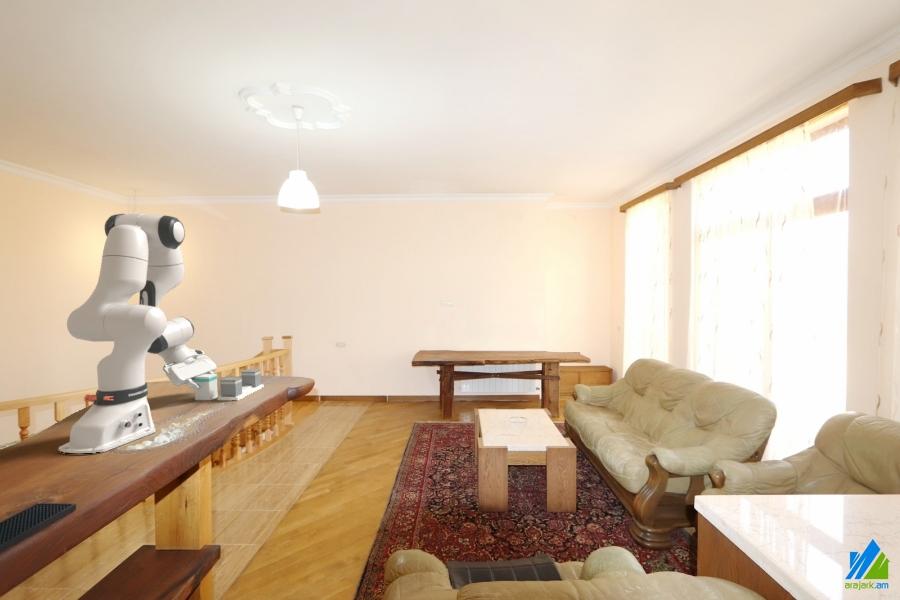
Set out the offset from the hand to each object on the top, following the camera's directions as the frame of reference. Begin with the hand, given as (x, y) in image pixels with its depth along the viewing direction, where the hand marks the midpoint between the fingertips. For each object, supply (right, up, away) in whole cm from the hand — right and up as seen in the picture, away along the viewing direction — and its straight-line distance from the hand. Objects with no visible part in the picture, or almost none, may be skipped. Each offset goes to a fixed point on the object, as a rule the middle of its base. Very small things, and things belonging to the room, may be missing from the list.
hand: (207, 385), depth 154 cm
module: (0, -5, 0) cm, 5 cm away
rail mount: (+10, -5, +6) cm, 13 cm away
